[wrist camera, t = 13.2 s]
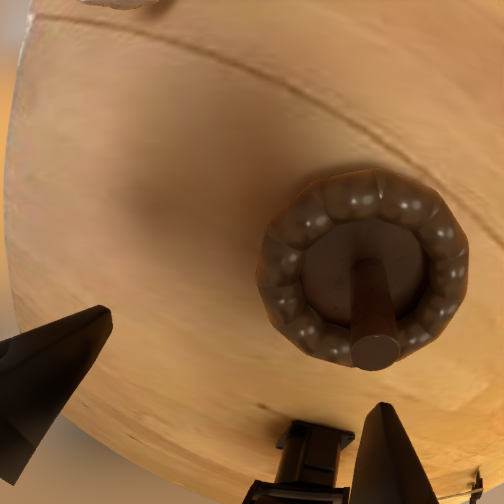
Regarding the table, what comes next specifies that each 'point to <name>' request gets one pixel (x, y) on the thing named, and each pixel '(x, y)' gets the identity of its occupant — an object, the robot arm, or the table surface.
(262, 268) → the ring
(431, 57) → the table surface
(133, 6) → the mug
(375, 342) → the peg stand
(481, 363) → the table surface
